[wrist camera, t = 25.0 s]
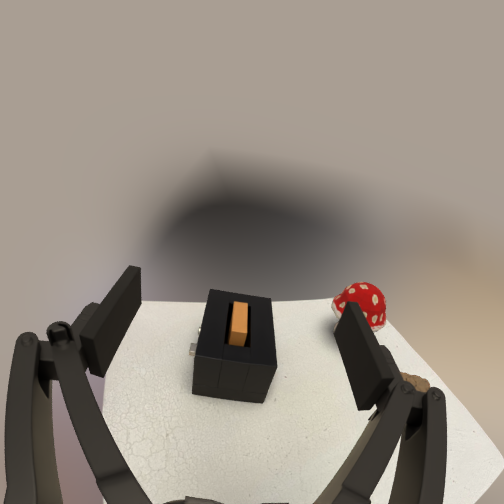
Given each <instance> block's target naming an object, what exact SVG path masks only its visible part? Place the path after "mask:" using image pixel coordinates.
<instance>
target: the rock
mask: <svg viewBox="0 0 504 504" xmlns="http://www.w3.org/2000/svg"><path fill="white" fill-rule="evenodd" d="M400 373H401V375H402V377H403V379H404V381H408V382H410V383H411V384H413V386H414V387H415V389H416V390H417V391H421V392H427V391H428V389H429V388H430V384H429V382H428V380H426V379H422V378H421V377H420V376H416V375H409V374H407V373H402V372H400Z"/></svg>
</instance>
